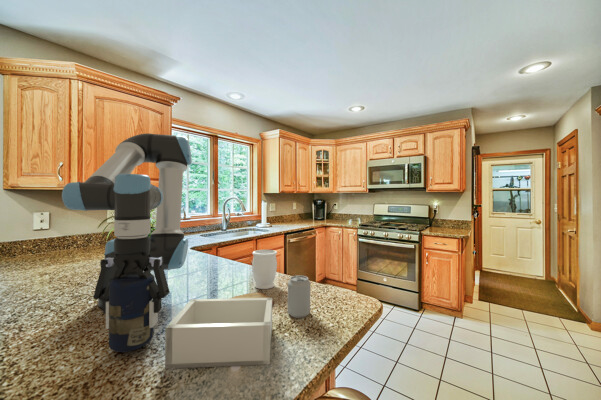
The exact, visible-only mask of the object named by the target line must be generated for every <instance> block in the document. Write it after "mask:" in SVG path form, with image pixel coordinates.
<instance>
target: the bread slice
mask: <svg viewBox="0 0 601 400" xmlns="http://www.w3.org/2000/svg"><path fill="white" fill-rule="evenodd" d="M233 298H270V297H269V296H268V295H266V294H265V293H262V292H253V293H251V292H250V293H245V294H240V295H235V296H232V297H231V298H228V299H233ZM274 304H275V300H273V299H272V306H273V305H274Z"/></svg>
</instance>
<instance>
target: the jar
mask: <svg viewBox="0 0 601 400" xmlns="http://www.w3.org/2000/svg"><path fill="white" fill-rule="evenodd" d="M277 254H278V251H277V250H274V249H258V250H253V251H252V255H253V256H252V257H253V258H252V263H251V269H252V275H253V281H254V282H255V283H254V285H253V286H254V288H256V289H259V290H268V289H271V288H274V287H275V283H274V282H275V279H276V275H277V269H278V260H277Z"/></svg>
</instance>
